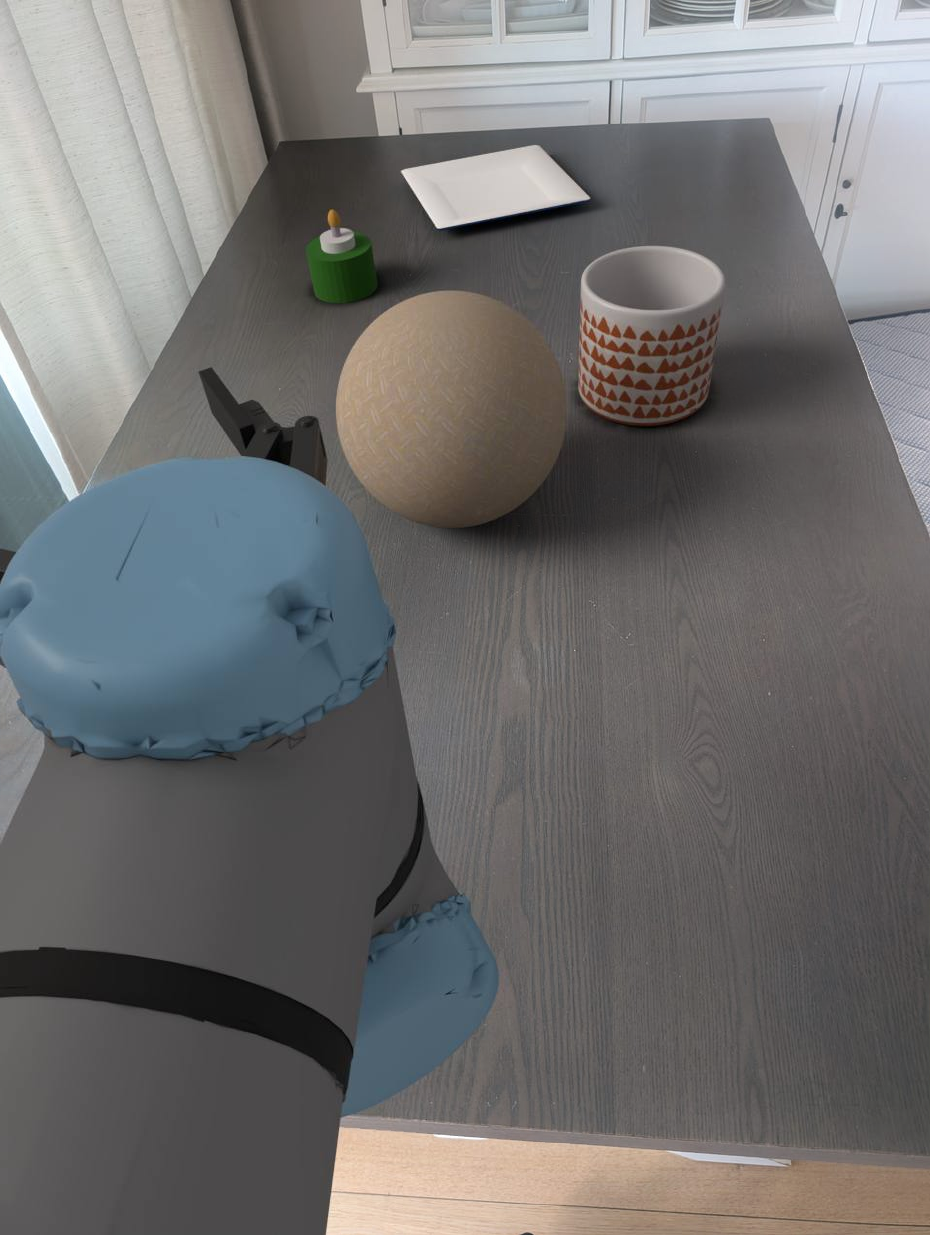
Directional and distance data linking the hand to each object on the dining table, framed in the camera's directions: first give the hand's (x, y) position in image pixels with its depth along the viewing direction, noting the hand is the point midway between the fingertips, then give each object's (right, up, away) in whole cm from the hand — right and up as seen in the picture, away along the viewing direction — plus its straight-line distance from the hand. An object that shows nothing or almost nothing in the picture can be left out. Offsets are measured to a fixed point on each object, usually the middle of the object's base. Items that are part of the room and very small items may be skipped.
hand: (90, 432), depth 48 cm
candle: (+5, +33, +69) cm, 76 cm away
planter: (+39, +14, +48) cm, 63 cm away
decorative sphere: (+20, +1, +38) cm, 42 cm away
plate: (+24, +52, +85) cm, 102 cm away
